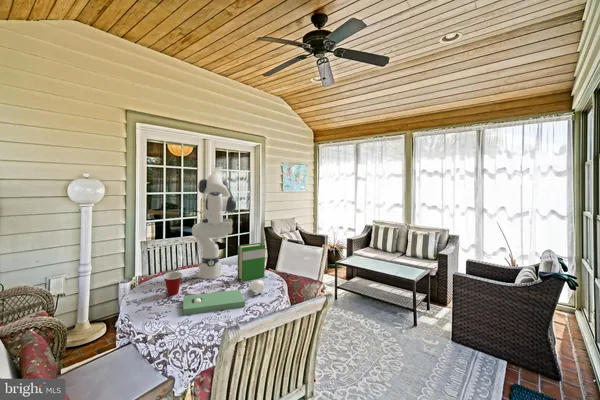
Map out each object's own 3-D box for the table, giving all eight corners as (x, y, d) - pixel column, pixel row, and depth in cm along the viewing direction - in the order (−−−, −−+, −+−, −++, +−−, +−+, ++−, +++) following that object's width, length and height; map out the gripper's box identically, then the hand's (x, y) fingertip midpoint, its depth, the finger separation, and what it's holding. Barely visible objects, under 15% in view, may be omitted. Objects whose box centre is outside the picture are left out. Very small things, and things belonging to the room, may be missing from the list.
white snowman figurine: (256, 282, 174) (245, 278, 183) (257, 296, 174) (246, 292, 183) (265, 280, 179) (254, 276, 187) (265, 293, 179) (254, 290, 187)
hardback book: (242, 281, 199) (242, 247, 197) (237, 278, 205) (237, 245, 203) (264, 277, 210) (264, 244, 208) (259, 274, 216) (259, 242, 214)
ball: (200, 304, 162) (193, 303, 161) (202, 297, 162) (194, 296, 161) (200, 307, 159) (193, 306, 157) (202, 300, 159) (194, 299, 157)
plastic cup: (160, 297, 169) (160, 277, 168) (165, 290, 180) (165, 272, 179) (180, 296, 171) (180, 277, 170) (184, 290, 182) (184, 271, 181)
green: (183, 301, 166) (183, 296, 165) (239, 294, 178) (239, 289, 177) (183, 314, 149) (183, 309, 149) (245, 306, 161) (245, 301, 161)
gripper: (232, 217, 180) (231, 239, 181) (197, 218, 172) (197, 241, 173) (233, 219, 174) (233, 241, 175) (197, 220, 166) (197, 243, 168)
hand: (215, 241), depth 174 cm, fingers closed
